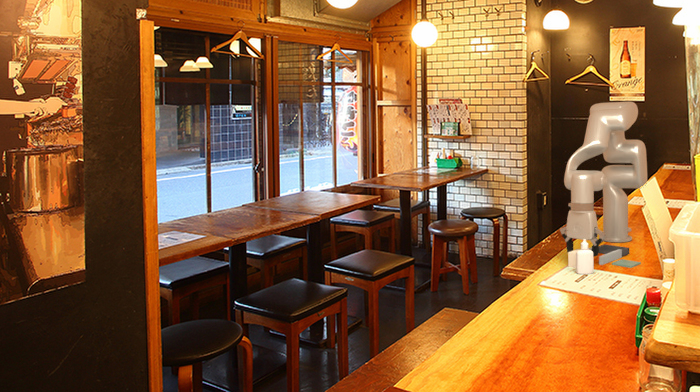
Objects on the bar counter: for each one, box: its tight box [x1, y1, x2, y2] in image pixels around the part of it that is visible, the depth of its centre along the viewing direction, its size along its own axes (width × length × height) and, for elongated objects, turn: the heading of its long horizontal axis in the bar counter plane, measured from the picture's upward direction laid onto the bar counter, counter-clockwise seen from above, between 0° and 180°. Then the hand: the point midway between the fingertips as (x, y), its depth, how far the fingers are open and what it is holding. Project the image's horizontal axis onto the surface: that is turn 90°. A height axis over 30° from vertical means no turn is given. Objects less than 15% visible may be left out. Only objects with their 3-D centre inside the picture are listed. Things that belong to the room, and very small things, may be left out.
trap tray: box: [599, 243, 630, 258], centre depth 229 cm, size 5×10×2 cm, turn 38°
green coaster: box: [611, 258, 642, 269], centre depth 213 cm, size 7×7×1 cm
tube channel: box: [588, 246, 623, 266], centre depth 222 cm, size 14×10×3 cm
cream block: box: [567, 248, 581, 269], centre depth 214 cm, size 6×5×6 cm
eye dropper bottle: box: [575, 239, 595, 275], centre depth 205 cm, size 4×6×12 cm
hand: (582, 254), depth 215 cm, fingers open, 9 cm apart
